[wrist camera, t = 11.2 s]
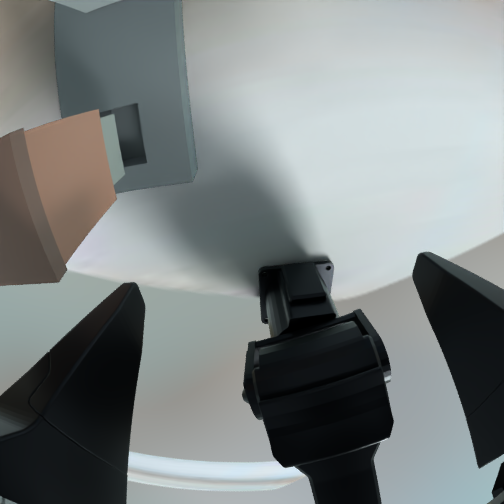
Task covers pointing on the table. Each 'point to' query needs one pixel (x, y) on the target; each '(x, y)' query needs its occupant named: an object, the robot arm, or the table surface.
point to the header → (131, 84)
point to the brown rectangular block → (54, 193)
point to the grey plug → (85, 4)
